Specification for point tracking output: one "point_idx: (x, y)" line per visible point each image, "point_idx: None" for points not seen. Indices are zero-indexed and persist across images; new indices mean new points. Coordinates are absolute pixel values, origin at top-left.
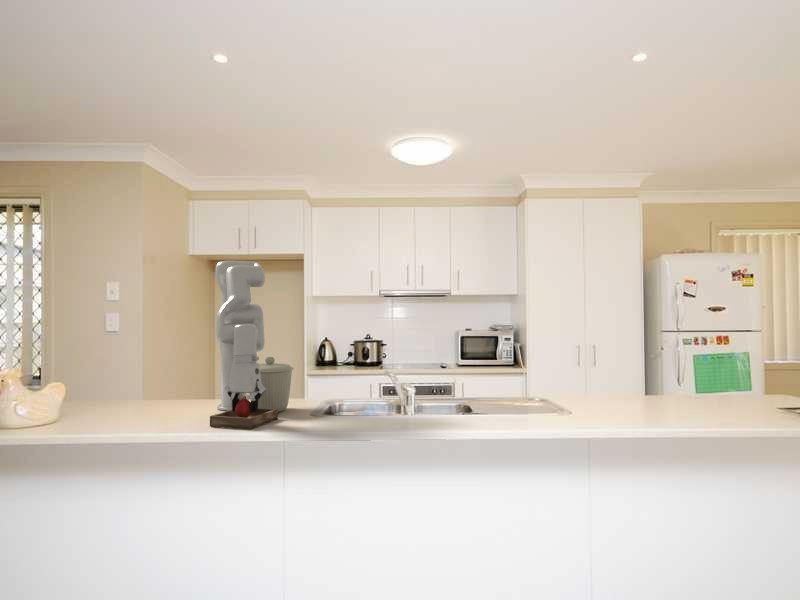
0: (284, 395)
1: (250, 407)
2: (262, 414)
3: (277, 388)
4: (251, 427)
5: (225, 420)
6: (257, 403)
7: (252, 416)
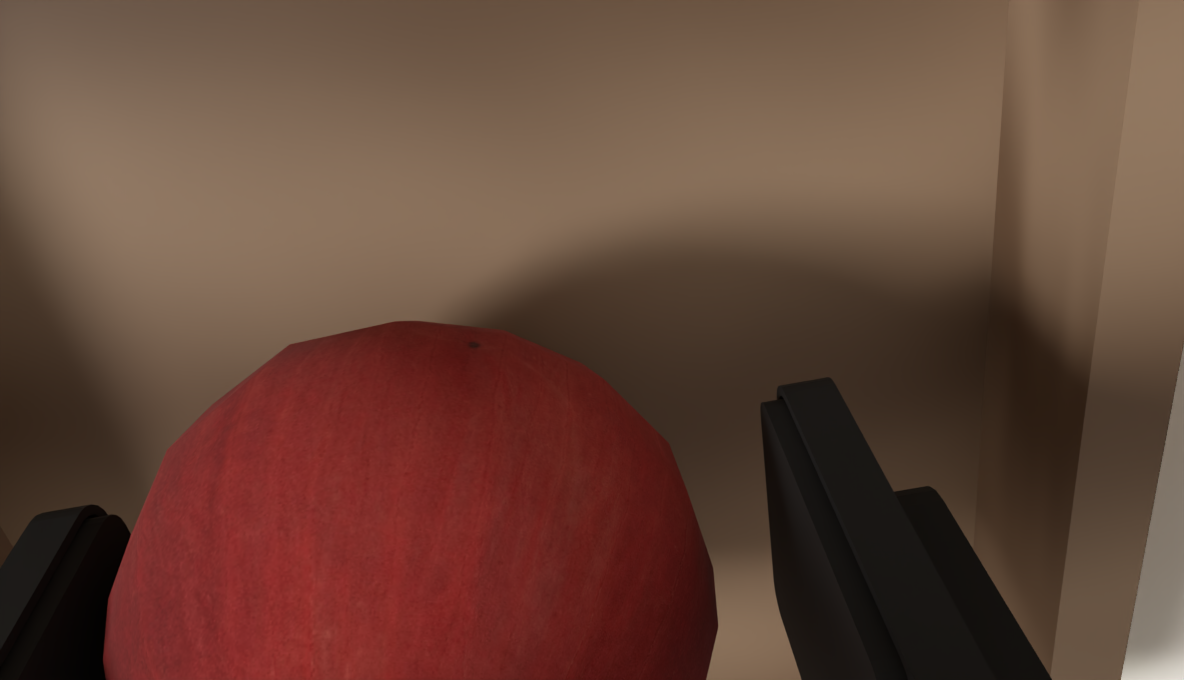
0: None
1: (714, 634)
2: (1140, 494)
3: None
4: None
5: None
6: (1012, 650)
7: (310, 9)
